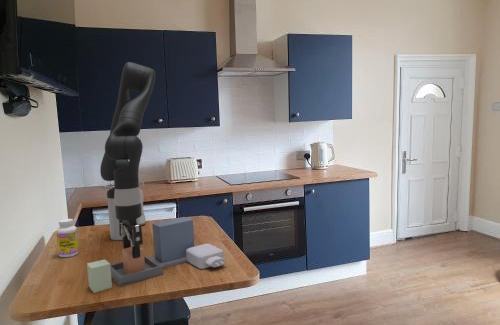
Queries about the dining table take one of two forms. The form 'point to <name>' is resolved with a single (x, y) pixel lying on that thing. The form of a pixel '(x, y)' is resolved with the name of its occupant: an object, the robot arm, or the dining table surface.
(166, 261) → the block
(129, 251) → the terracotta block
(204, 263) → the charger
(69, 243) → the supplement bottle
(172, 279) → the dining table surface
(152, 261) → the tray
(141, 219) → the plastic bottle
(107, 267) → the sage block
